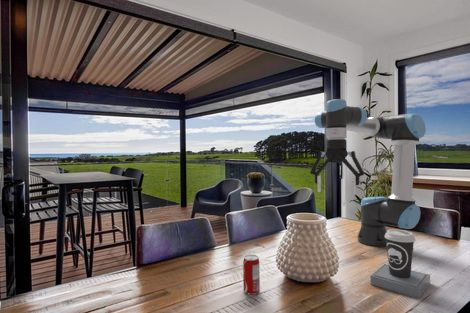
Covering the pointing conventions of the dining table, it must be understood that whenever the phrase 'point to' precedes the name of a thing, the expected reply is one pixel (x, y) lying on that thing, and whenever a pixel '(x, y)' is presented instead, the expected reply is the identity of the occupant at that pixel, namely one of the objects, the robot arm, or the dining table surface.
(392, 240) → the coffee cup
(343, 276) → the dining table surface
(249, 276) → the soda can
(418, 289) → the slate base
